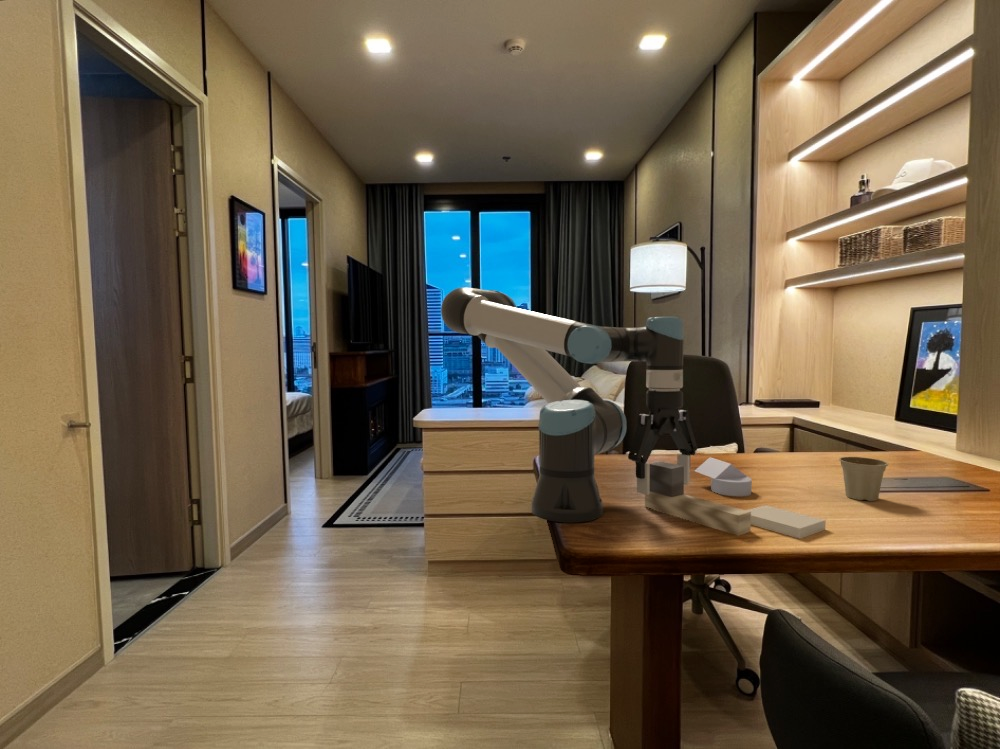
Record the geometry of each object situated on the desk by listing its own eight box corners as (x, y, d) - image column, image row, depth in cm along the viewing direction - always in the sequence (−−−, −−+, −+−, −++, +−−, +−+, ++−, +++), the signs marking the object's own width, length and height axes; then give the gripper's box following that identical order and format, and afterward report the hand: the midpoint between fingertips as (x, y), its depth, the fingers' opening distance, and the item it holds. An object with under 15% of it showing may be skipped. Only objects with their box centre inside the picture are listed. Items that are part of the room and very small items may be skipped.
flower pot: (890, 497, 124) (891, 460, 124) (883, 506, 117) (884, 467, 117) (842, 490, 130) (843, 454, 130) (834, 498, 124) (834, 461, 123)
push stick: (750, 532, 102) (751, 480, 102) (738, 536, 100) (739, 483, 99) (656, 505, 120) (657, 460, 120) (644, 508, 118) (645, 463, 117)
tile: (739, 523, 108) (799, 541, 98) (739, 512, 108) (799, 528, 98) (765, 515, 113) (825, 531, 103) (765, 505, 113) (825, 520, 103)
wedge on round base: (694, 484, 138) (726, 497, 125) (694, 458, 137) (726, 469, 125) (724, 481, 140) (759, 494, 127) (725, 456, 139) (760, 466, 127)
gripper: (639, 393, 105) (638, 502, 106) (714, 387, 119) (713, 483, 120) (610, 391, 111) (610, 493, 112) (685, 385, 125) (684, 476, 126)
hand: (663, 488), depth 116 cm, fingers open, 13 cm apart
